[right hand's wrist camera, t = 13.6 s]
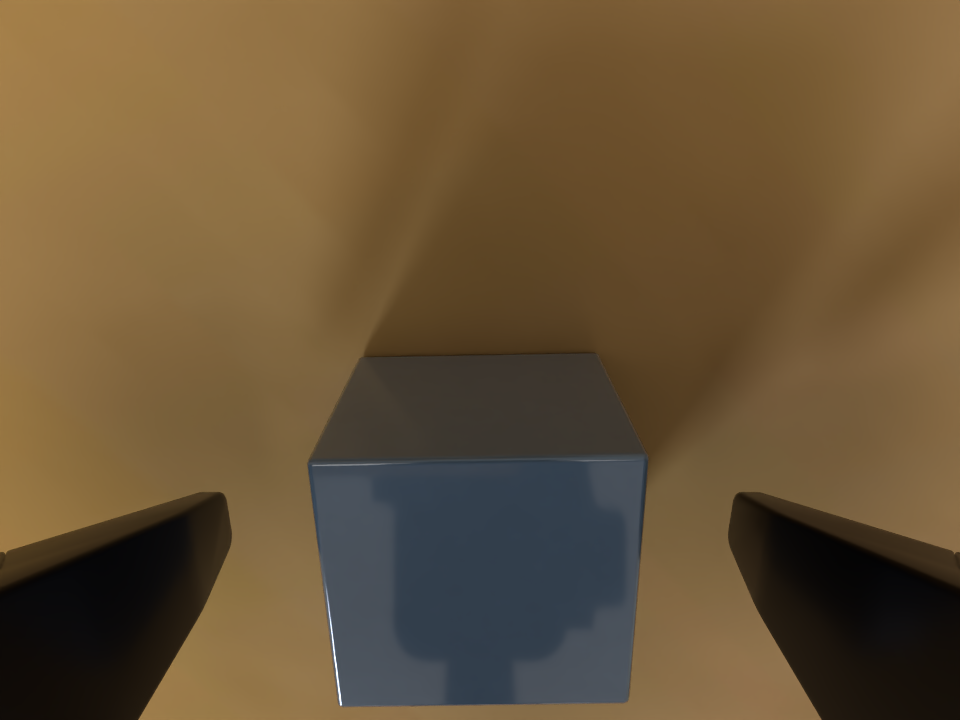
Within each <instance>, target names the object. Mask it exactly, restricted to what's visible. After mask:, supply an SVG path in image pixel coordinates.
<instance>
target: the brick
mask: <svg viewBox="0 0 960 720" xmlns="http://www.w3.org/2000/svg"><path fill="white" fill-rule="evenodd" d="M648 464H649V457H648V454H647V452H646V450H645V448H644V446H643V444H642V442H641V440H640V438H639V436H638V434H637V432H636V430H635V428H634V426H633V424H632V422H631V420H630V418H629V416H628V414H627V412H626V410H625V408H624V406H623V404H622V401H621V399H620V397H619V395H618V393H617V391H616V389H615V387H614V385H613V383H612V381H611V379H610V377H609V375H608V373H607V371H606V369H605V367H604V365H603V363H602V361H601V359H600V357H599V355H598V354H596V353H578V354H521V355H465V356H408V357H362V358H359V359H358V361H357V363H356V365H355V367H354V369H353V371H352V373H351V375H350V377H349V379H348V381H347V383H346V385H345V387H344V389H343V391H342V393H341V395H340V397H339V399H338V401H337V403H336V405H335V407H334V409H333V411H332V413H331V415H330V417H329V419H328V421H327V423H326V425H325V427H324V430H323V432H322V434H321V436H320V438H319V440H318V442H317V444H316V446H315V448H314V450H313V452H312V454H311V456H310V458H309V460H308V463H307V466H308V474H309V482H310V490H311V497H312V505H313V513H314V521H315V529H316V536H317V544H318V552H319V560H320V568H321V576H322V583H323V591H324V599H325V607H326V615H327V622H328V630H329V638H330V646H331V654H332V662H333V669H334V677H335V685H336V693H337V700H338V704H339V706H341V707H393V706H464V705H535V704H607V703H626V702H628V700H629V694H630V682H631V670H632V658H633V646H634V634H635V621H636V609H637V597H638V585H639V573H640V561H641V549H642V537H643V524H644V512H645V500H646V488H647V476H648Z"/></svg>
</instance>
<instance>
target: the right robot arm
mask: <svg viewBox="0 0 960 720" xmlns="http://www.w3.org/2000/svg"><path fill="white" fill-rule="evenodd" d="M231 539H232V531H231V525H230V518H229V512H228V506H227V500H226V497H225V495H224V494H223V493H221V492H200V493H196V494H193V495H190V496H187V497H183V498H180V499H177V500H173V501H170V502H167V503H164V504H160V505H157V506H154V507H150V508H147V509H144V510H141V511H137V512H134V513H131V514H127V515H124V516H121V517H118V518H114V519H111V520H108V521H104V522H101V523H98V524H95V525H91V526H88V527H85V528H82V529H78V530H75V531H72V532H68V533H65V534H62V535H59V536H55V537H52V538H49V539H45V540H42V541H39V542H36V543H32V544H29V545H26V546H22V547H19V548H16V549H13V550H9V551H7V553H6V555H5V553H4V552H0V720H138V719H139V718H140V716H141V714H142V712H143V711H144V709H145V707H146V706H147V704H148V702H149V701H150V699H151V697H152V696H153V694H154V692H155V690H156V689H157V687H158V685H159V684H160V682H161V680H162V679H163V677H164V675H165V673H166V672H167V670H168V668H169V667H170V665H171V663H172V662H173V660H174V658H175V657H176V655H177V653H178V651H179V650H180V648H181V646H182V645H183V643H184V641H185V640H186V638H187V636H188V634H189V633H190V631H191V629H192V628H193V626H194V624H195V623H196V621H197V619H198V617H199V615H200V614H201V612H202V610H203V608H204V606H205V604H206V602H207V600H208V597H209V595H210V593H211V590H212V588H213V586H214V583H215V581H216V579H217V576H218V574H219V572H220V569H221V567H222V565H223V562H224V560H225V558H226V555H227V553H228V551H229V548H230V545H231ZM728 539H729V545H730V548H731V551H732V553H733V555H734V558H735V560H736V562H737V565H738V567H739V569H740V572H741V574H742V576H743V579H744V581H745V583H746V586H747V588H748V590H749V593H750V595H751V597H752V599H753V602H754V604H755V606H756V608H757V610H758V612H759V614H760V615H761V617H762V619H763V621H764V623H765V624H766V626H767V628H768V629H769V631H770V633H771V634H772V636H773V638H774V640H775V641H776V643H777V645H778V646H779V648H780V650H781V651H782V653H783V655H784V657H785V658H786V660H787V662H788V663H789V665H790V667H791V668H792V670H793V672H794V673H795V675H796V677H797V679H798V680H799V682H800V684H801V685H802V687H803V689H804V690H805V692H806V694H807V696H808V697H809V699H810V701H811V702H812V704H813V706H814V707H815V709H816V711H817V712H818V714H819V716H820V718H821V719H822V720H960V552H956V553H955V555H954V552H953V551H951V550H947V549H944V548H941V547H938V546H934V545H931V544H928V543H924V542H921V541H918V540H915V539H911V538H908V537H905V536H901V535H898V534H895V533H892V532H888V531H885V530H882V529H878V528H875V527H872V526H869V525H865V524H862V523H859V522H856V521H852V520H849V519H846V518H842V517H839V516H836V515H833V514H829V513H826V512H823V511H819V510H816V509H813V508H810V507H806V506H803V505H800V504H796V503H793V502H790V501H787V500H783V499H780V498H777V497H773V496H770V495H767V494H764V493H760V492H739V493H737V494H736V495H735V497H734V500H733V506H732V512H731V518H730V525H729V531H728Z"/></svg>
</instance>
